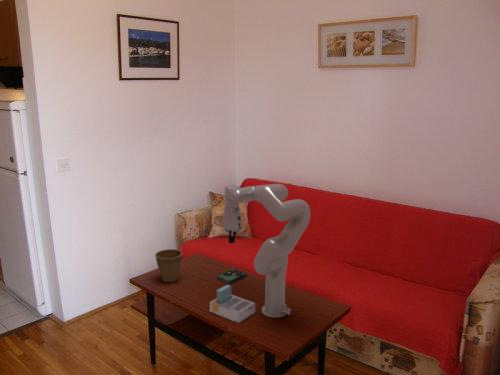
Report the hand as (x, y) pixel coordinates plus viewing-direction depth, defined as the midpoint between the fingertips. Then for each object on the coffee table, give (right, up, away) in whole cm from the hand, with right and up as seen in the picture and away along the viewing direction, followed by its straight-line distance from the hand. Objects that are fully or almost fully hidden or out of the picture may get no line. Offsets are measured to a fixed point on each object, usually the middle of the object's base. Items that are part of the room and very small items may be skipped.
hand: (231, 242), depth 230 cm
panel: (-3, -30, -16) cm, 34 cm away
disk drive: (-1, -24, +21) cm, 32 cm away
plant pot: (-36, -24, +17) cm, 47 cm away
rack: (+1, -32, -19) cm, 37 cm away
